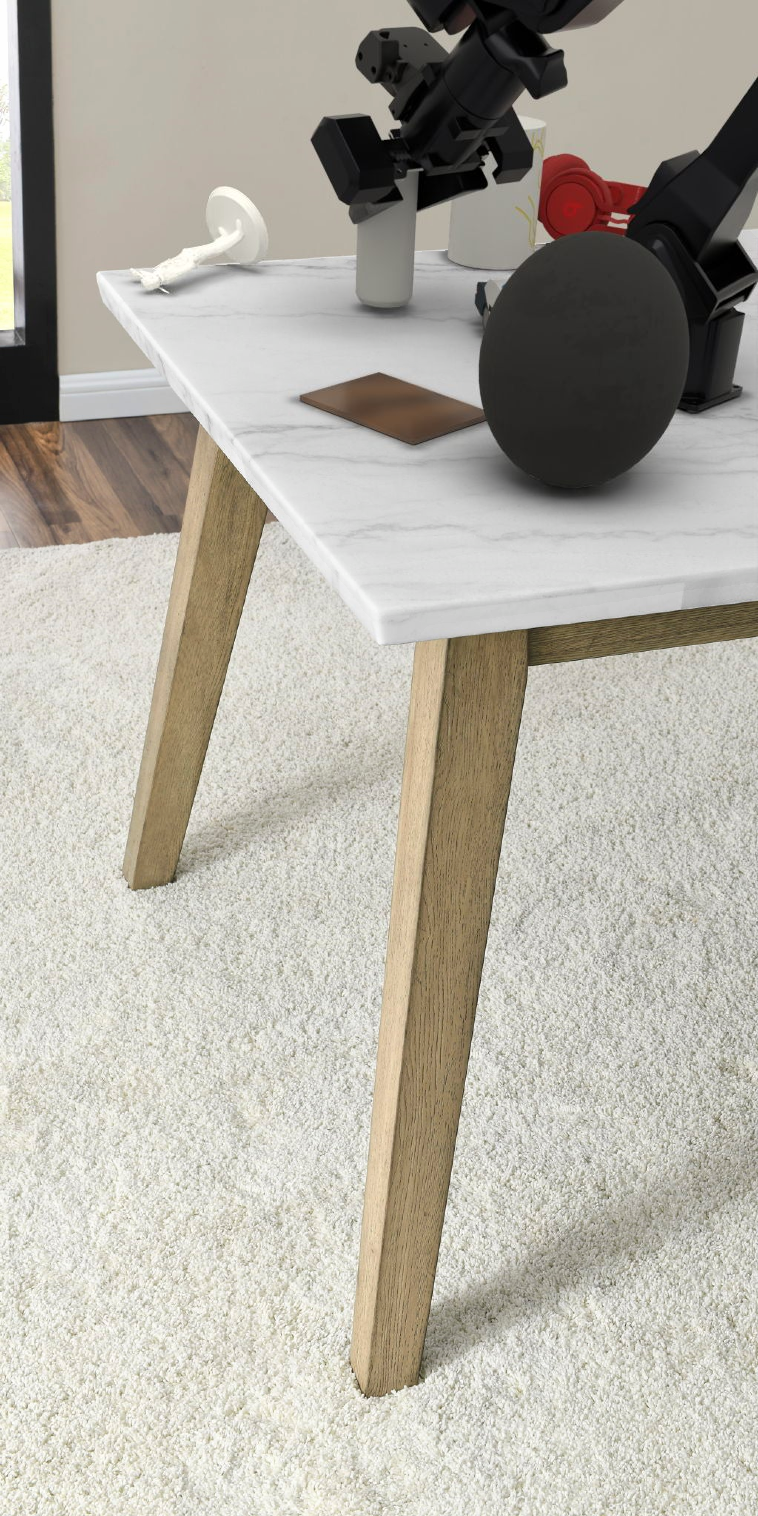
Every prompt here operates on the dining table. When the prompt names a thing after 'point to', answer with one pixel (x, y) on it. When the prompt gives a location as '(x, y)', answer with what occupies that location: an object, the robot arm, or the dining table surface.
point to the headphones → (581, 198)
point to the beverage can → (388, 251)
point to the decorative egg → (583, 359)
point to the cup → (499, 214)
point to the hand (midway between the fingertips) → (376, 215)
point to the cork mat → (395, 407)
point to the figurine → (217, 238)
